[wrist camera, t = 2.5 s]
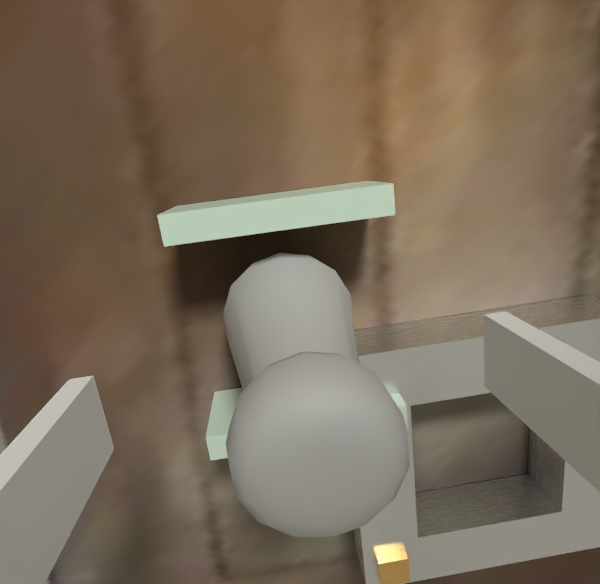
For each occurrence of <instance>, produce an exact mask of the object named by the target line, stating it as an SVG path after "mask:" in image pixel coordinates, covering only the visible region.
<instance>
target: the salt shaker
mask: <svg viewBox="0 0 600 584" xmlns="http://www.w3.org/2000/svg"><path fill="white" fill-rule="evenodd" d="M223 315H224V321H225V327H226V334H227V340H228V343H229V346H230V350H231V353H232V356H233V359H234V363H235V366H236V369H237V372H238V375H239V379H240V382H241V385H242V388H243V391H242V392H241V393H240V395H239V398H238V401H237V404H236V407H235V410H234V414H233V417H232V420H231V423H230V426H229V430H228V435H227V439H226V449H227V455H228V462H229V467H230V472H231V477H232V483H233V488H234V493H235V497H236V498H237V499H238V500H239V501H240V502H241V503H242V505H243V506H244V507H245V508H246V509H247V510H248V511H249V512H250V513H251V514H252V516H253V517H254V518H255V519H256V520H257V521H258V522H259V523H261V524H264V525H266V526H268V527H271V528H273V529H275V530H278V531H280V532H283V533H285V534H287V535H290V536H292V537H334V536H337V535H340V534H343V533H345V532H348V531H351V530H354V529H357V528H359V527H362V526H364V525H366V524H367V523H368V522H369V521H370V520H371V519H373V518H374V517H375V516H376V515H377V514H378V513H379V512H380V511H381V510H383V509H384V508H385V507H386V506H387V505H388V504H389V503H390V502H391V501H393V500H394V499H395V497H396V495H397V493H398V491H399V489H400V487H401V484H402V482H403V480H404V478H405V476H406V474H407V472H408V470H409V468H410V458H409V445H408V432H407V428H406V424H405V421H404V417H403V414H402V412H401V411H400V409H399V408H398V406H397V404H396V403H395V401H394V400H393V398H392V397H391V395H390V394H389V392H388V390H387V389H386V387H385V386H384V384H383V383H382V381H381V380H380V378H379V377H378V376H377V374H376V373H375V372H373V371H372V370H370V369H368V368H366V367H364V366H362V365H360V363H359V357H358V350H357V344H356V337H355V331H354V324H353V316H352V306H351V296H350V293H349V291H348V290H347V288H346V287H345V285H344V283H343V282H342V280H341V279H340V277H339V276H338V274H337V272H336V271H335V270H333V269H332V268H330V267H328V266H327V265H325V264H323V263H322V262H320V261H318V260H316V259H315V258H313V257H311V256H309V255H302V254H290V253H278V254H275V255H272V256H270V257H267V258H265V259H262V260H259V261H257V262H254V263H253V264H252V265H251V266H250V267H249V268H248V269H247V270H246V271H245V272H244V273H243V274H242V275H241V276H240V277H239V278H238V279H237V280H236V281H235V282H234V283H233V284H232V285H231V287H230V290H229V294H228V298H227V301H226V305H225V308H224V312H223Z"/></svg>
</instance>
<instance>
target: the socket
mask: <svg viewBox="0 0 600 584" xmlns="http://www.w3.org/2000/svg"><path fill="white" fill-rule="evenodd" d="M503 311H506V312H508V313H510V314H512V315H513V316H515V317H517V318H519V319H521V320H523V321H525V322H526V323H528V324H530V325H532V326H534V327H536V328H537V329H539V330H541V331H543V332H545V333H547V334H549V335H550V336H552V337H554V338H556V339H558V340H560V341H561V342H563V343H565V344H567V345H569V346H571V347H573V348H574V349H576V350H578V351H580V352H582V353H584V354H586V355H587V356H589V357H591V358H593V359H595V360H597V361H598V362H600V299H597V298H595V297H592V296H589V295H584V296H578V297H571V298H564V299H558V300H551V301H545V302H538V303H532V304H525V305H518V306H512V307H505V308H499V309H492V310H486V311H479V312H472V313H466V314H459V315H453V316H446V317H440V318H433V319H426V320H420V321H413V322H407V323H400V324H394V325H387V326H380V327H374V328H367V329H361V330H354V331H355V337H356V344H357V350H358V357H359V363H360V365H362V366H364V367H366V368H368V369H370V370H372V371H373V372H375V373H376V374H377V376H378V377H379V378H380V380H381V381H382V383H383V384H384V386H385V387H386V389H387V390H388V392H389V394H390V395H394V394H400V395H401V397H402V399H403V400H404V402H405V403H406V406H407V423H408V428H407V432H408V445H409V458H410V468H409V470H408V472H407V474H406V476H405V478H404V480H403V482H402V484H401V487H400V489H399V491H398V493H397V495H396V497H395V499H394V500H393V501H391V502H390V503H389V504H388V505H387V506H386V507H385V508H384V509H383V510H381V511H380V512H379V513H378V514H377V515H376V516H375V517H374V518H373V519H371V520H370V521H369V522H368V523H367V524H366V525H364V526H362V527H359V528H357V529H354V530H353V532H354V541H355V547H356V551H357V555H358V559H359V562H360V566H361V570H362V574H363V578H364V582H365V584H405V583H410V582H416V581H421V580H426V579H432V578H437V577H442V576H448V575H453V574H458V573H464V572H469V571H474V570H480V569H485V568H490V567H496V566H501V565H506V564H512V563H517V562H522V561H528V560H533V559H538V558H544V557H549V556H554V555H560V554H565V553H571V552H576V551H581V550H587V549H592V548H597V547H600V492H599V491H598V490H597V489H596V488H594V487H593V486H592V485H591V484H590V483H589V482H588V481H587V480H586V479H585V478H584V477H582V476H581V475H580V474H579V473H578V472H577V471H576V470H575V469H574V468H573V467H572V466H570V465H569V464H568V463H567V462H566V461H565V460H564V459H563V458H562V457H561V456H560V455H559V454H557V453H556V452H555V451H554V450H553V449H552V448H551V447H550V446H549V445H548V444H547V443H545V442H544V441H543V440H542V439H541V438H540V437H539V436H538V435H537V434H536V433H535V432H533V431H532V430H531V429H530V438H529V465H528V474H524V475H518V476H513V477H507V478H501V479H495V480H490V481H484V482H478V483H473V484H467V485H461V486H455V487H450V488H444V489H438V490H433V491H427V492H421V493H416V494H415V478H414V460H413V442H412V424H411V406H413V405H419V404H425V403H431V402H437V401H443V400H449V399H455V398H462V397H468V396H474V395H480V394H486V393H491V392H490V391H489V390H488V389H487V388H486V387H484V314H491V313H497V312H503Z"/></svg>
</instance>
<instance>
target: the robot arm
mask: <svg viewBox="0 0 600 584" xmlns="http://www.w3.org/2000/svg"><path fill="white" fill-rule="evenodd" d="M484 387H486V388H487V389H488V390H489V391H490V392H491V393H492V394H493V395H494V396H495V397H496V398H498V399H499V400H500V401H501V402H502V403H503V404H504V405H505V406H506V407H507V408H508V409H510V410H511V411H512V412H513V413H514V414H515V415H516V416H517V417H518V418H519V419H520V420H521V421H523V422H524V423H525V424H526V425H527V426H528V427H529V428H530V429H531V430H532V431H533V432H535V433H536V434H537V435H538V436H539V437H540V438H541V439H542V440H543V441H544V442H545V443H547V444H548V445H549V446H550V447H551V448H552V449H553V450H554V451H555V452H556V453H557V454H559V455H560V456H561V457H562V458H563V459H564V460H565V461H566V462H567V463H568V464H569V465H570V466H572V467H573V468H574V469H575V470H576V471H577V472H578V473H579V474H580V475H581V476H582V477H584V478H585V479H586V480H587V481H588V482H589V483H590V484H591V485H592V486H593V487H594V488H596V489H597V490H598V491H599V492H600V362H598V361H597V360H595V359H593V358H591V357H589V356H587V355H586V354H584V353H582V352H580V351H578V350H576V349H574V348H573V347H571V346H569V345H567V344H565V343H563V342H561V341H560V340H558V339H556V338H554V337H552V336H550V335H549V334H547V333H545V332H543V331H541V330H539V329H537V328H536V327H534V326H532V325H530V324H528V323H526V322H525V321H523V320H521V319H519V318H517V317H515V316H513V315H512V314H510V313H508V312H506V311H503V312H497V313H491V314H484ZM113 450H114V446H113V443H112V439H111V436H110V432H109V429H108V425H107V422H106V418H105V415H104V411H103V408H102V404H101V401H100V397H99V394H98V390H97V387H96V383H95V380H94V376H88V377H81V378H75V379H69V380H68V381H67V382H66V383H65V384H64V386H63V387H62V388H61V389H60V390H59V391H58V392H57V393H56V394H55V395H54V397H53V398H52V399H51V400H50V401H49V402H48V403H47V404H46V405H45V406H44V408H43V409H42V410H41V411H40V412H39V413H38V414H37V415H36V416H35V417H34V418H33V420H32V421H31V422H30V423H29V424H28V425H27V426H26V427H25V428H24V429H23V431H22V432H21V433H20V434H19V435H18V436H17V437H16V438H15V439H14V440H13V442H12V443H11V444H10V445H9V446H8V447H7V448H6V449H5V450H4V451H3V452H2V454H1V455H0V584H45V582H46V580H47V578H48V576H49V574H50V572H51V570H52V568H53V566H54V564H55V562H56V561H57V559H58V557H59V555H60V553H61V551H62V549H63V547H64V545H65V543H66V541H67V539H68V537H69V535H70V533H71V531H72V529H73V528H74V526H75V524H76V522H77V520H78V518H79V516H80V514H81V512H82V510H83V508H84V506H85V504H86V502H87V500H88V498H89V496H90V495H91V493H92V491H93V489H94V487H95V485H96V483H97V481H98V479H99V477H100V475H101V473H102V471H103V469H104V467H105V465H106V463H107V462H108V460H109V458H110V456H111V454H112V452H113Z"/></svg>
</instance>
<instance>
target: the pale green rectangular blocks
mask: <svg viewBox="0 0 600 584" xmlns="http://www.w3.org/2000/svg"><path fill="white" fill-rule="evenodd" d="M390 215H395V201H394V184H393V183H385V182H375V181H362V182H354V183H347V184H339V185H332V186H324V187H316V188H309V189H301V190H294V191H286V192H279V193H271V194H264V195H256V196H248V197H241V198H233V199H226V200H218V201H211V202H203V203H196V204H188V205H180V206H176V207H173V208H171V209H169V210H167V211H165V212H162V213H160V214H158V215H157V217H158V221H159V226H160V231H161V235H162V240H163V244H164V247H165V246H172V245H179V244H187V243H194V242H201V241H209V240H216V239H223V238H230V237H238V236H245V235H252V234H260V233H267V232H274V231H281V230H289V229H296V228H303V227H310V226H318V225H325V224H332V223H340V222H347V221H354V220H361V219H369V218H376V217H383V216H390ZM242 391H243V388H236V389H229V390H223V391H217V392H214V397H213V402H212V407H211V413H210V418H209V423H208V428H207V433H206V442H207V446H208V451H209V455H210V460H217V459H223V458H228V455H227V449H226V439H227V435H228V430H229V426H230V423H231V420H232V417H233V414H234V410H235V407H236V404H237V401H238V398H239V395H240V393H241V392H242ZM391 397H392V398H393V400H394V401H395V403H396V404H397V406H398V408H399V409H400V411H401V412H402V414H403V417H404V421H405V424H406V428H408V423H407V406H406V403H405V402H404V400H403V399H402V397H401V395H400V394H394V395H391Z"/></svg>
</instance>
